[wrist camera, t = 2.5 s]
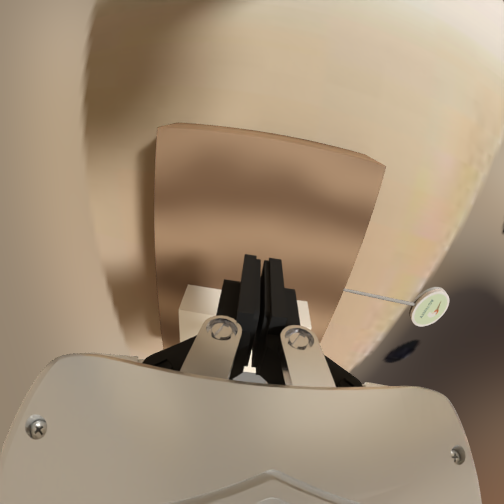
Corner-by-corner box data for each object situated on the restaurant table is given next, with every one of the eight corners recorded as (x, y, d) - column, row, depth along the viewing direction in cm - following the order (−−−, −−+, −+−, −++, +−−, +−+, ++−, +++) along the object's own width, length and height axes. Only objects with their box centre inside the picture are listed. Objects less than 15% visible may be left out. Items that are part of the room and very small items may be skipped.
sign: (351, 267, 23) (456, 295, 24) (349, 262, 24) (453, 291, 25) (328, 310, 26) (432, 328, 27) (327, 304, 26) (430, 323, 27)
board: (177, 122, 18) (157, 127, 14) (364, 154, 18) (386, 166, 15) (173, 323, 28) (163, 351, 24) (302, 341, 28) (305, 371, 25)
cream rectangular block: (187, 284, 20) (178, 309, 17) (307, 301, 20) (311, 327, 18) (188, 337, 23) (181, 361, 20) (288, 350, 23) (290, 376, 21)
